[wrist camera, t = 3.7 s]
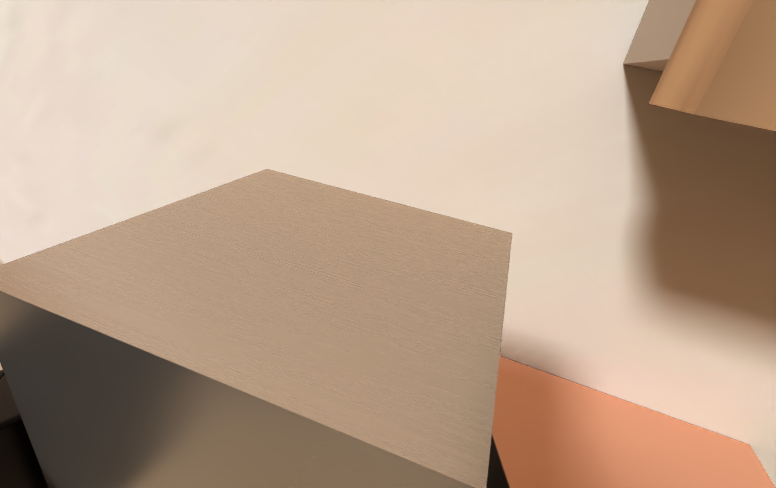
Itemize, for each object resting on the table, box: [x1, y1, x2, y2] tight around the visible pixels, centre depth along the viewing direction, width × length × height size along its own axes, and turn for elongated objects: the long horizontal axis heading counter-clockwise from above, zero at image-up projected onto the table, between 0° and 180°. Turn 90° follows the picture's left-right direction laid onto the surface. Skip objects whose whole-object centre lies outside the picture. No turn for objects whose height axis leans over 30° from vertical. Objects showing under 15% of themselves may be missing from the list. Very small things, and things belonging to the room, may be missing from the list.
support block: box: [0, 169, 512, 488], centre depth 7 cm, size 5×7×5 cm
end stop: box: [492, 356, 775, 488], centre depth 16 cm, size 12×3×7 cm, turn 79°
